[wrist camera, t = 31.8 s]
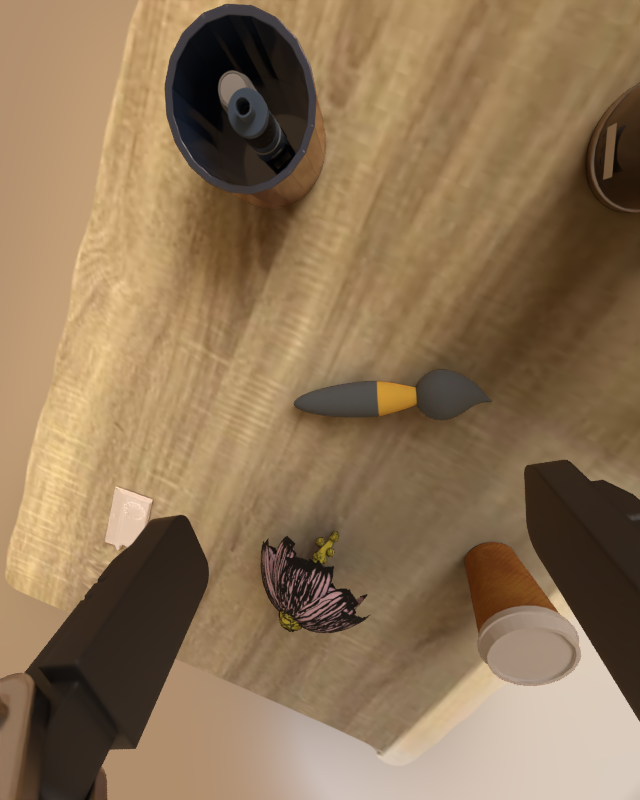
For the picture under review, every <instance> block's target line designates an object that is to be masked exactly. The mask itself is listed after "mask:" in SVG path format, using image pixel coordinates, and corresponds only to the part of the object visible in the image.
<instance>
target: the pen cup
mask: <svg viewBox="0 0 640 800" xmlns="http://www.w3.org/2000/svg"><path fill="white" fill-rule="evenodd" d="M232 70H233V71H237V72H239V73H242V74H244V75H246V76H247V77H248V78H249V79H250V80H251V81H252V82H253V84H254V85H255V87H256V89H257V90H258V92H259V93H260V95H261V96H262V97H263V99H264V101H265V103H266V104H267V106H268V107H269V109H270V110H271V112H272V114H273V115H274V117H275V118H276V120H277V121H278V123H279V125H280V126H281V128H282V129H283V131H284V132H285V134H286V136H287V140H288V142H289V144H290V145H291V147H292V149H293V151H294V152H295V156H294V157H293V159H292V160H291V161H290V163H289V164H288V166H287V167H286V168H285V169H284V170H282V171H281V172H280V173H278V174H276V173H275V172H274V171H273V170H272V169H271V168H270V167H269V166H268V165H267V164H266V163H265V162H264V161H262V160H261V159H260V158H259V156H258V155H257V154H256V153H255V152H254V151H253V150H252V149H251V147H250V146H249V145H248V144H247V142H246V141H245V140H244V139H243V138H242V137H241V136H240V135H239V134H238V133H237V132H236V131H235V130H234V129H233V127H232V126H231V124H230V121H229V118H228V115H227V113H226V112H225V110H224V108H223V107H222V105H221V102H220V97H219V93H218V84H219V81H220V78H221V77H222V75H223V74H224V73H226V72H227V71H232ZM165 100H166V115H167V119H168V122H169V125H170V129H171V132H172V135H173V138H174V141H175V143H176V145H177V147H178V149H179V150H180V152H181V153H182V155H183V157H184V158H185V160H186V161H187V163H188V164H189V166H190V167H191V168H192V169H193V170H194V171H195V172H196V173H198V174H199V175H200V176H201V177H202V178H203V179H204V180H205V181H206V182H208V183H209V184H211V185H213V186H215V187H217V188H219V189H221V190H223V191H225V192H228V193H230V194H232V195H234V196H236V197H238V198H240V199H242V200H244V201H246V202H248V203H251V204H253V205H255V206H257V207H263V208H280V207H285V206H288V205H290V204H292V203H294V202H296V201H298V200H299V199H300V198H302V197H303V196H304V195H305V194H306V193H307V192H308V191H309V190H310V189H311V187H312V186H313V185H314V183H315V182H316V180H317V178H318V176H319V174H320V171H321V169H322V165H323V162H324V157H325V148H326V134H325V129H324V124H323V119H322V114H321V109H320V105H319V101H318V96H317V92H316V87H315V83H314V78H313V74H312V69H311V66H310V64H309V62H308V60H307V58H306V56H305V54H304V52H303V49H302V47H301V45H300V43H299V41H298V40H297V38H296V37H295V36H294V35H293V34H292V33H291V32H290V31H289V30H288V29H287V27H286V26H285V25H284V24H283V23H282V22H281V21H280V20H279V19H278V18H276V17H275V16H273V15H271V14H269V13H267V12H265V11H263V10H261V9H259V8H257V7H255V6H252V5H238V4H225V5H222V6H220V7H217V8H215V9H212V10H209V11H207V12H204V13H203V14H201V15H200V16H199V17H198V18H197V19H196V20H195V21H194V22H193V23H192V24H191V25H190V26H189V27H188V28H187V29H186V30H185V31H184V33H182V35H181V37H180V39H179V41H178V43H177V45H176V47H175V49H174V51H173V53H172V55H171V58H170V60H169V66H168V71H167V76H166V81H165Z"/></svg>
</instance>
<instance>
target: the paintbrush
mask: <svg viewBox="0 0 640 800" xmlns="http://www.w3.org/2000/svg"><path fill="white" fill-rule="evenodd" d="M483 402H492V400H491V399H490V398H489V397H488V396H487V395H486V394H485V393H484V392H483V391H482V390H481V389H480V388H479V387H478V386H477V385H476V384H475V383H474V382H473V381H471V380H470V379H468V378H466V377H465V376H463V375H461V374H458V373H456V372H453V371H450V370H444V369H440V370H434V371H431V372H429V373H427V374H426V375H425V376H423V377H422V378H421V379H420V381H419V382H418V383H417V385H416V388H415V387H411V386H406V385H401V384H395V383H389V382H382V381H366V382H355V383H348V384H342V385H336V386H331V387H327V388H322V389H319V390H315V391H312V392H309V393H307V394H304V395H302V396H300V397H299V398H297V399H296V400H295V401H294V406H295V407H296V408H298V409H300V410H302V411H305V412H308V413H312V414H318V415H325V416H334V417H377V416H383V415H386V414H390V413H394V412H397V411H400V410H403V409H406V408H409V407H412V406H415V405H417V406H418V408H419V409H420V411H421V412H422V413H424V414H425V415H426V416H428V417H430V418H432V419H435V420H448V419H451V418H454V417H456V416H458V415H460V414H461V413H463V412H465V411H466V410H468V409H469V408H471V407H472V406H474V405H476V404H479V403H483Z"/></svg>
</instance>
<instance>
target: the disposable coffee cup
mask: <svg viewBox="0 0 640 800" xmlns="http://www.w3.org/2000/svg"><path fill="white" fill-rule="evenodd" d="M465 567H466V572H467V577H468V582H469V588H470V593H471V598H472V603H473V608H474V613H475V618H476V623H477V628H478V633H479V635H478V651H479V653H480V656H481V658H482V659H483V660H484V662H485V663H487V664H488V666H489V667H490V669H491V671H492V672H493V673H494V674H495V675H496V676H497V677H499V678H500V679H502V680H504V681H507V682H510V683H514V684H517V685H524V686H537V685H544V684H549V683H552V682H555V681H558V680H560V679H562V678H564V677H565V676H567V675H568V674H570V673H571V672H572V671H573V670H574V669H575V668H576V666H577V665H578V663H579V661H580V657H581V652H580V647H579V637H578V634H577V631H576V630H575V628H574V627H573V625H571V623H570V622H569V621H568V620H567V619H565V618H564V617H563V616H561V615H560V614H559V613H558V611H557V610H556V608H555V607H554V606H553V604H552V603H551V602H550V600H549V599H548V597H547V596H546V595H545V593H543V591H542V589H541V588H540V587H539V585H538V584H537V582H536V581H535V580H534V578H533V577H532V576H531V575H530V573H529V572H528V571H527V569H526V568H525V567H524V565H523V564H522V562H521V561H520V560H519V558H518V557H517V556H516V554H515V553H514V551H513V550H512V549H511V548H510V547H508V546H506V545H504V544H502V543H496V542H490V543H484V544H481V545H478V546H476V547H475V548H473V549H472V550H471V551H470V552H469V553H468V554H467V556H466V558H465Z"/></svg>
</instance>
